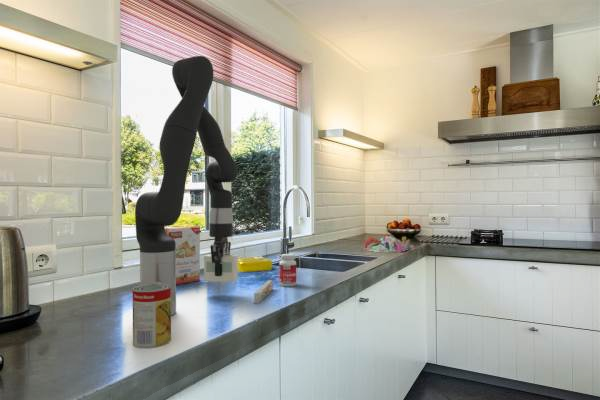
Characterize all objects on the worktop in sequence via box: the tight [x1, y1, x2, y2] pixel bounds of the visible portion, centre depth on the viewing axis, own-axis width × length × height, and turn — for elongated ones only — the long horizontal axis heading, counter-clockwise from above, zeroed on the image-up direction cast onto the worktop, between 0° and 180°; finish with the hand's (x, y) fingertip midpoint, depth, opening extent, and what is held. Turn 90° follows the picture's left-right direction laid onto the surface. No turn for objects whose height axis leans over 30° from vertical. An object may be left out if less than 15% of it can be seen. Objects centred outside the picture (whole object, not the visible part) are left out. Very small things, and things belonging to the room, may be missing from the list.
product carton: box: [203, 254, 239, 283], centre depth 135 cm, size 4×10×8 cm, turn 83°
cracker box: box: [165, 225, 201, 285], centre depth 156 cm, size 14×6×21 cm, turn 141°
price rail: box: [253, 279, 274, 304], centre depth 133 cm, size 20×2×3 cm, turn 172°
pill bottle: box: [278, 253, 297, 287], centre depth 150 cm, size 6×6×11 cm
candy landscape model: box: [364, 235, 411, 253], centre depth 247 cm, size 25×24×9 cm
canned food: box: [132, 283, 172, 349], centre depth 91 cm, size 8×8×12 cm
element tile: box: [238, 256, 273, 273], centre depth 187 cm, size 15×15×5 cm
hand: (220, 274), depth 135 cm, fingers closed on product carton, 4 cm apart
